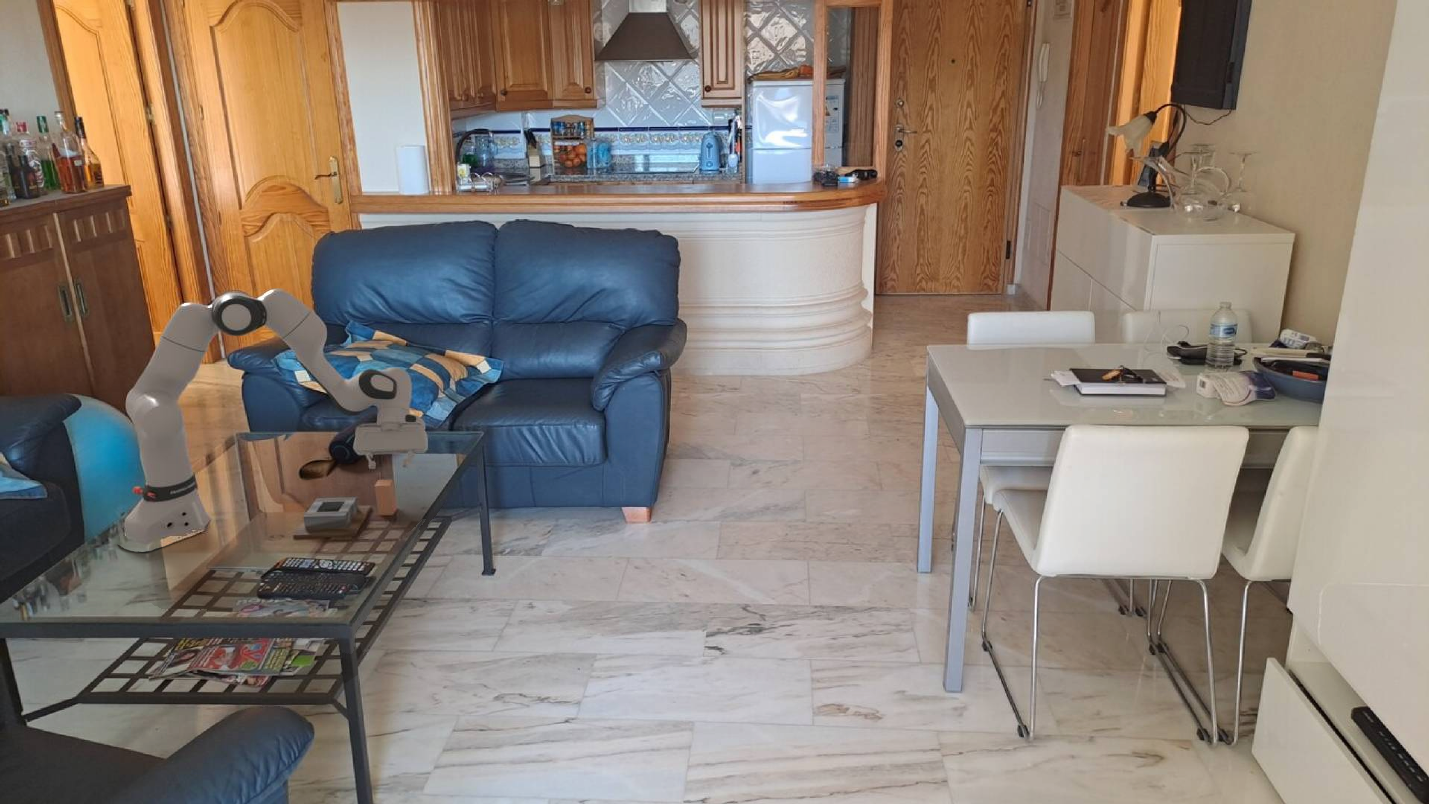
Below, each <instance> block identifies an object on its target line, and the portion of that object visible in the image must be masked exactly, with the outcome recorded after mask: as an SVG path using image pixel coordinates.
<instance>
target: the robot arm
mask: <svg viewBox="0 0 1429 804" xmlns="http://www.w3.org/2000/svg"><path fill="white" fill-rule="evenodd" d="M263 327H266V328H268V329H269V330H271V331H272V332H274V333H273V334H275V335H277V337H279V338H280V339H281V340H282V341H283V342H284V343H285V344H286V345H287V346H288V347H289V348H290V350H291V351H292V352H293V353H294V357H295V359H296V360H297V362H298V363H299V364H300V366H302V368H303V369H304V370H305V371H306V373H308V374H309V376H311V377H312V379H313V380H314V381H315V382H316V383H317V384H318V385H319V386H320V388H321V389H323V390H324V391H325V393H326V394H327V395H328V396H329V398H330V400H331V402H332V403H333V405H334V407H335V408H336V410H338V411H339V412H341V414H344V415H346V416H350V417H352V416H353V417H355V416H358V415H360V414H362V413H363V412H365V411H366V410H367V409H368V408H371V407H372V406H374V407H376V408H377V413H378V415H377V423H362V424H361V425H359V426H358V427H356V431H355V436H356V437H355V441H354V446H353V449H354V451H355V452H356V453H357V454H358V455H363V456H365V457H366V459H367V461H368V469H370V470H374V469H376V466H377V463H376V462H375V460H372V458H373V456H374V455H375V456H376V455H397V454H399V455H401V454H403V455H404V454H407V455H408V456H407V457H406V458H405V459H403V460H402V467H403V468H410V463H411V462H412V460H413V459H414V457H415V454H424V453H426V452H427V451H428V448H429V441H428V439H429V438H428V434H427V432H426V423H425V421H424V420H423V419H422V418H421V416H419V415H417V414H412V413H411V411H410V405H411V402H412V391H413V389H412V386H413V385H412V380H411V376H410V373H408V372H407V371H405V369H403V368H399V367H392V366H391V367H387V368H385V369H381V370H378V369H374V368H368V369H365V370H363V371H361V372H358V373H357V374H355V376H353V377H351V378H349V379H348V378H344V377H343V376H342V375H341V374H340V373H339V372H338V371H337V370H336V369H335V368H334V366H332V365H331V363H330V362H329V361H328V360H327V359H326V357H325V355H324V346H325V344H326V341H327V337H328V331H327V326H326V324H325V323H324V321H323V320H322V319H321V317H319V315H317V314H316V313H315V312H314V311H313V310H312V309H311V308H310V307H308V306H307V305H306V304H305V303H304V302H303V301H301V300H300V299H298V298H297V297H295V296H294V295H292V294H291V293H290V292H289V291H287V290H284V289H282V288H274V289H270V290H268V291H266V292H264V293H263V294H262V295H261V296H259V297H257V298H256V297H252V296H251V295H250V294H248V293H247V292H244V291H242V290H235V289H234V290H228V291H225V292H222V293H221V294H220V295H219V296H217V297H215V298H214V299H212V300H211V301H210V302H208V303H207V304H206V305H205V304H201V303H198V302H185V303H181V304H180V305H179V306H178V307H177V309H175V311H174V312H173V314H172V316H171V317H170V319H169V321H168V322H167V324H166V326H165V328H164V329H163V331H162V333H161V336H160V338H159V340H158V343H157V344H156V347H155V350H154V351H153V354H152V356H151V357H150V360H149V362H148V365H147V366H146V367H145V368H144V371H142V374H140V376H139V377H138V379H137V381H136V383H135V384H134V386H133V387H132V388H131V389H130V390H129V392H128V393H127V394H126V395H127V396H126V399H125V410H126V413H127V416H129V418H130V420H131V421H132V423H133V426H134V427H135V431H136V434H137V441H138V446H139V458H140V461H141V462H140V463H141V465H142V470H143V474H144V478H145V483H144V484H145V485H144V488H143V487H140V486H137V485H136V486H134V487H133V489H132V493H133V494H135V495H138V496H142V498H141V499H140V501H139V502H138V503H137V505H136V506H134V508H133V509H132V511H131V512H130V513H129V514H128V515H127V516H126V517H125V519H124V534H125V536H126V537H127V538H128V539H130V540H132V541H134V542H138V543H142V544H149V543H151V542H156V541H159V540H161V539H165V538H167V537H169V536H182V537H183V536H187V535H188V534H191V533H196V532H198V531H202V530H205V531H206V526H207V525H208V524H209V523H210V521H211V518H210V516H209V515H208V513H207V511H206V509H205V507H204V505H203V502H202V500H201V498H200V495H199V493H198V492H199V491H198V490H199V489H198V487H199V486H198V483H197V478H196V474H195V472H194V471H193V469H192V465H191V459H190V456H189V451H188V450H189V449H188V446H187V445H188V444H187V434H186V433H187V432H186V424H185V419H184V413H183V409H182V407H181V406H180V405H179V404H178V401H179V399H180V397H181V395H182V394H183V392H184V391H185V389H186V388H187V387H188V385H190V383H191V382H192V381H194V380H195V378H196V376H197V373H198V371H199V369H200V366H201V365H202V362H203V361H204V358H205V356H206V354H207V351H208V349H209V346H210V344H211V342H212V341H213V339H214V337H215V336H216V335H217V334H219V333H221V332H223V333H224V334H226V335H228V336H232V337H242V336H245V335H249V334H251V333H252V332H254V331H256V330H258V329H260V328H263ZM360 426H361V427H360ZM208 522H209V523H208ZM206 524H207V525H206ZM205 525H206V526H205ZM192 530H196V531H194V532H193V531H192ZM187 533H188V534H187ZM178 538H180V537H178Z"/></svg>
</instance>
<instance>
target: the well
mask: <svg viewBox="0 0 1429 804" xmlns="http://www.w3.org/2000/svg"><path fill="white" fill-rule="evenodd" d="M371 510H372V506H371V505H359V501H358V496H352V497H351V496H350V497H349V496H348V497H323V498H322V497H320V498H319V497H318V498H316V499H315V500H314V502H313V503H312V504H311V506H310V507H309V508H308V510H307V511H306V513H305V514H304V515H303V516H302V517H303V521H302V522H301V523H300V524H299V526H298V528H297V529H296V530H295V532H294V533H293V534H292V537H293V539H311V538H312V539H314V538H338V537H339V538H341V537H355V536H357V533H358V531H359V529H360V528H361V526H362V525H363V523H364V521H366V518H367V517H368V514H369V513H370V511H371Z"/></svg>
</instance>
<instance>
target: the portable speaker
mask: <svg viewBox="0 0 1429 804" xmlns="http://www.w3.org/2000/svg"><path fill="white" fill-rule="evenodd" d="M377 415H378V411H373V412H369V413H368V412H367V413H366V414H364V415H362V416H360V418H359V419H356V421H354V422H352V423H351V424H349V425H348V426H347V427H345V428H344V429H342V430H341V431H339V432H338V433H337V434H335V436H333V438H332V439H331V440H330V442H329V444H328V447H327V448H328V450H329V454H330V456H331V457H332V458H333V459H334V460H335V461H337V462H338V463H339V464H351V463H355V462H356V461H358V460H359V459H360V458H361V457H363V456H364V455H358V454H357V453H356V452H355V451H354V449H353V446H354V441H355V437H356V436H355V431H356V427H358V426H359V425H361V424H362V423H377ZM360 427H361V426H360Z"/></svg>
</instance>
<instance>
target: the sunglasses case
mask: <svg viewBox="0 0 1429 804" xmlns="http://www.w3.org/2000/svg"><path fill="white" fill-rule="evenodd" d="M336 463H337V461H335V460H334V459H333V458H332V457H331V456H330V454H329V450H328V447H325V446H324V445H321V446H320V448H319V449H318V450H317V451H316V452H314V454H313V455H312V456H311V457H310V458H309V459H308V460H307V461H306V462H305V463H304V464H303V465H302V466H301V467H300V469H299V470H298V476H299V477H300V478H301V479H305V478H306V479H307V478H327V477H328V475H329V473H330V472H331V471H332V470H333V469H334V467H335V466H336V465H337V464H338V463H337V464H336Z"/></svg>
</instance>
